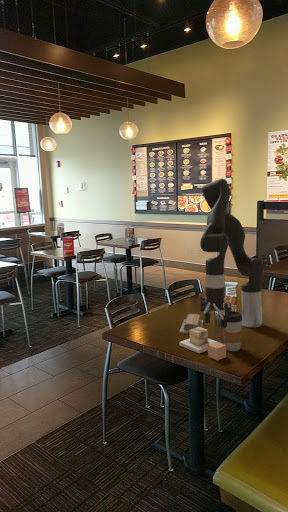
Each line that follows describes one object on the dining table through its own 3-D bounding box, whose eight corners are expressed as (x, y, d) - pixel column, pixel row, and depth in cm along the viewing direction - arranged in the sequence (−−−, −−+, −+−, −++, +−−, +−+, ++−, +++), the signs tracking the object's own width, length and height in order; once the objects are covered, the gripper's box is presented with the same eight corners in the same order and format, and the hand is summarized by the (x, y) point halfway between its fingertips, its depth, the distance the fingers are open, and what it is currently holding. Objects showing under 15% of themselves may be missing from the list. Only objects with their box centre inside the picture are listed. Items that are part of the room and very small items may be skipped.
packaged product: (183, 312, 195) (203, 313, 193) (184, 321, 196) (203, 322, 194) (179, 324, 178) (200, 324, 176) (179, 334, 179) (200, 334, 176)
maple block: (198, 338, 166) (198, 326, 165) (208, 342, 162) (207, 329, 161) (189, 342, 163) (189, 329, 162) (198, 345, 159) (198, 333, 158)
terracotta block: (216, 353, 154) (216, 341, 153) (226, 357, 150) (225, 345, 149) (208, 356, 151) (207, 344, 150) (217, 360, 147) (217, 348, 146)
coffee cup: (219, 345, 161) (219, 311, 159) (238, 344, 162) (238, 310, 160) (225, 353, 153) (225, 317, 151) (245, 351, 154) (245, 316, 152)
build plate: (199, 338, 171) (199, 335, 171) (219, 345, 161) (219, 342, 161) (179, 345, 164) (179, 341, 164) (199, 353, 154) (199, 350, 154)
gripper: (235, 286, 143) (236, 327, 145) (208, 280, 154) (209, 319, 157) (222, 289, 138) (222, 332, 141) (195, 283, 150) (195, 323, 152)
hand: (215, 325), depth 149 cm, fingers open, 8 cm apart
